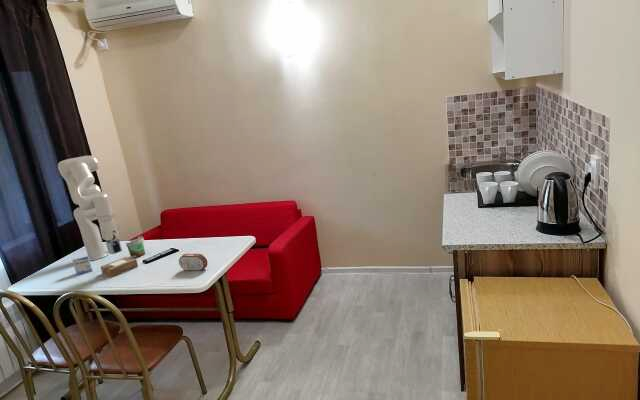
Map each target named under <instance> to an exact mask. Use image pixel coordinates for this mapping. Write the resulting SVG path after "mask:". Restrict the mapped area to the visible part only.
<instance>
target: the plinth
mask: <svg viewBox="0 0 640 400" xmlns="http://www.w3.org/2000/svg"><path fill="white" fill-rule="evenodd" d="M138 267H139V264H138V261H137V258H135V259H132V258H131V257H127V256H125V257H122V258H120V259H117V260H114V261H111V262H110V263H107V264H104V265H102V266H100V271H101V273H102V275H106V276H107V277H112V278H114V277H117V276H119V275H121V274H123V273H127V272H130V271H131V270H134V269H136V268H138Z"/></svg>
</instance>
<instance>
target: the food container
mask: <svg viewBox="0 0 640 400" xmlns="http://www.w3.org/2000/svg"><path fill="white" fill-rule="evenodd" d="M144 241H145V239H144V237H143V236H142V235H138V236H137V238H136V239H132V240H131V241H129V242H126V243H125V246H126V247H127V249H128V252H129V253H128V254H129V255H130V258H132V259H137V258H142V257H143V256H145V255H146V252H145V246H144ZM141 256H142V257H141Z"/></svg>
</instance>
